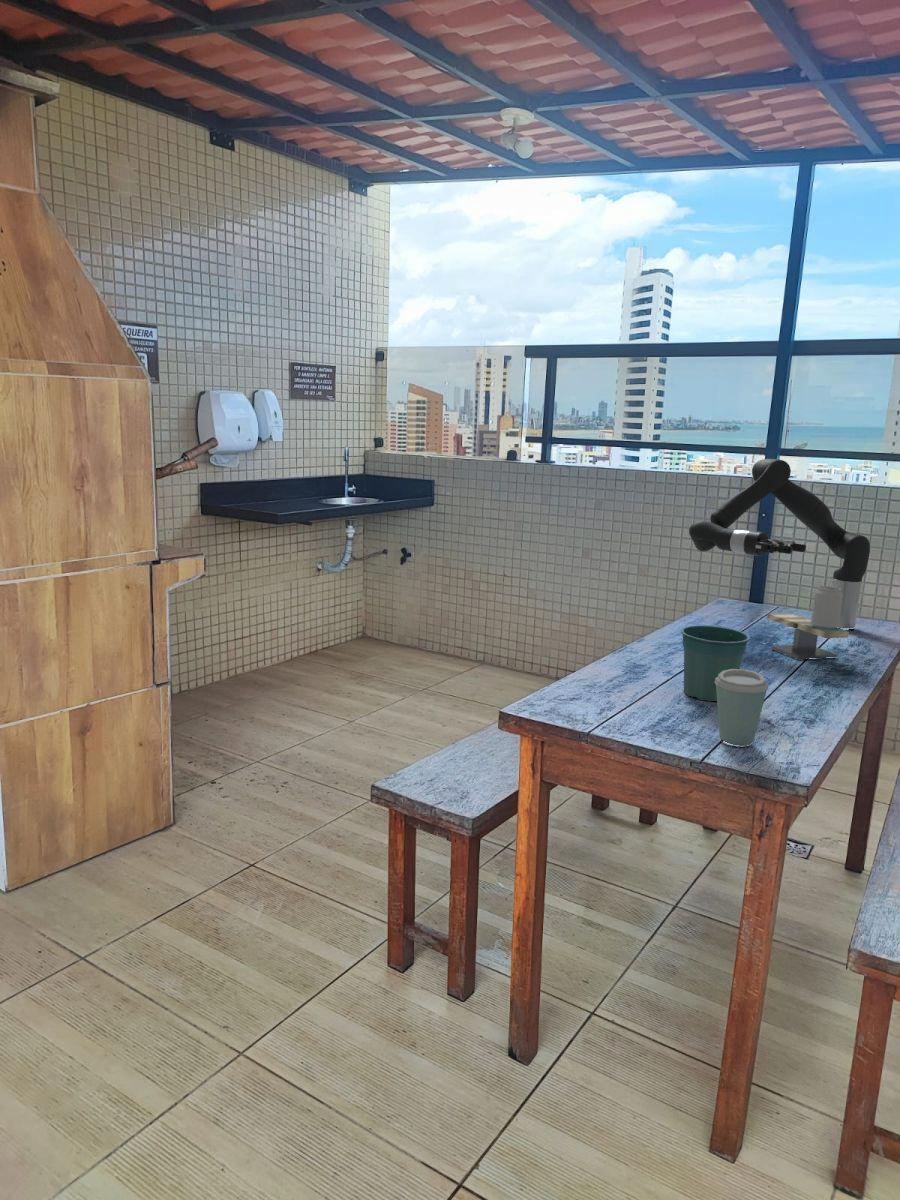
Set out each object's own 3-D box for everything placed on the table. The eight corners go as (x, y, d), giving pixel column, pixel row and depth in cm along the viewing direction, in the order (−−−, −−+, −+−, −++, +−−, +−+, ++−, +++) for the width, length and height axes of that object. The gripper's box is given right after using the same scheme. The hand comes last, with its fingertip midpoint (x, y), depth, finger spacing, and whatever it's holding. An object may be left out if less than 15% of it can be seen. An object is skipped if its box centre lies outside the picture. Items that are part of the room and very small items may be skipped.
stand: (771, 649, 260) (774, 625, 258) (808, 648, 264) (811, 623, 262) (797, 660, 249) (801, 634, 247) (836, 658, 253) (840, 633, 251)
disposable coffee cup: (760, 755, 172) (769, 685, 169) (705, 746, 176) (713, 677, 173) (761, 738, 182) (770, 672, 179) (710, 730, 185) (717, 665, 182)
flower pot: (729, 710, 200) (737, 645, 196) (664, 695, 209) (670, 632, 206) (751, 695, 213) (759, 633, 209) (689, 681, 222) (695, 622, 219)
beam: (764, 618, 266) (765, 613, 266) (790, 617, 269) (790, 612, 268) (823, 638, 242) (824, 632, 241) (850, 637, 244) (851, 631, 244)
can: (842, 631, 244) (848, 590, 242) (816, 629, 244) (822, 589, 242) (831, 625, 251) (837, 585, 249) (806, 624, 251) (811, 584, 249)
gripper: (738, 531, 258) (788, 538, 246) (761, 529, 267) (811, 535, 256) (735, 555, 260) (785, 563, 248) (758, 552, 269) (808, 560, 257)
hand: (798, 549), depth 252 cm, fingers open, 8 cm apart
